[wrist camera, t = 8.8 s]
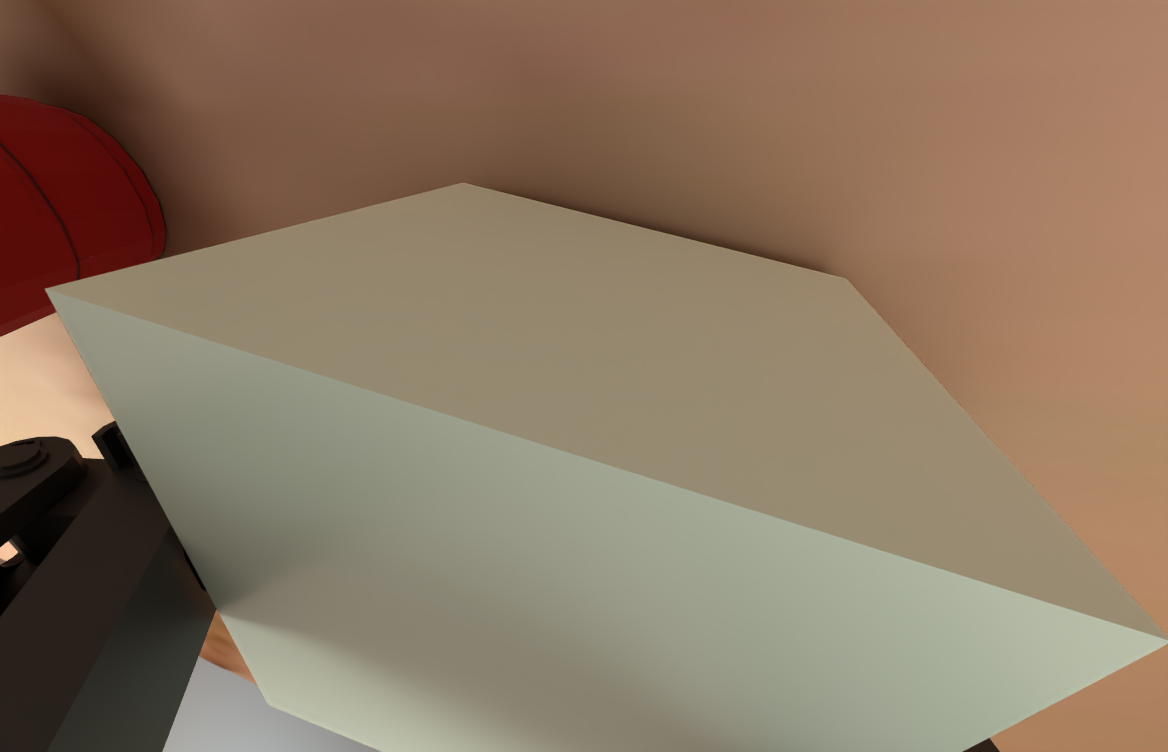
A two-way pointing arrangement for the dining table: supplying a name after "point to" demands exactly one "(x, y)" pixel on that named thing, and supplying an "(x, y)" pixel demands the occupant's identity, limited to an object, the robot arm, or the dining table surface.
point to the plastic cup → (65, 207)
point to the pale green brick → (586, 491)
